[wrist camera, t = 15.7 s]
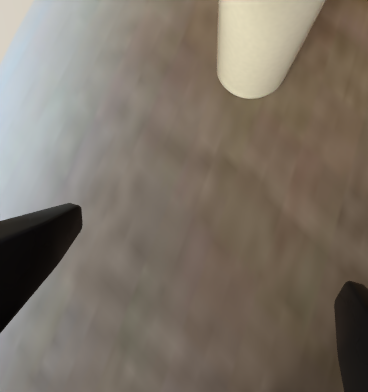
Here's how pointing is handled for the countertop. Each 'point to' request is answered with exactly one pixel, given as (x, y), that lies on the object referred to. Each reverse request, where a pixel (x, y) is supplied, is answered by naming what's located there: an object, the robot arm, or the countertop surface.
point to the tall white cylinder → (260, 42)
